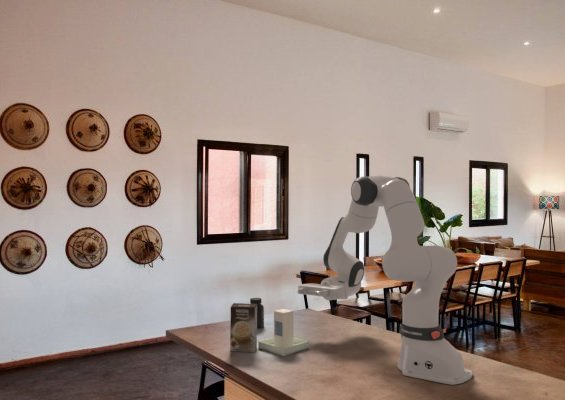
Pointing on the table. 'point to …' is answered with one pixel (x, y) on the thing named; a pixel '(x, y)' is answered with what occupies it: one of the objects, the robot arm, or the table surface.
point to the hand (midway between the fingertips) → (307, 292)
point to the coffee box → (243, 327)
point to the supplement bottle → (259, 311)
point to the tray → (269, 346)
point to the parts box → (283, 328)
